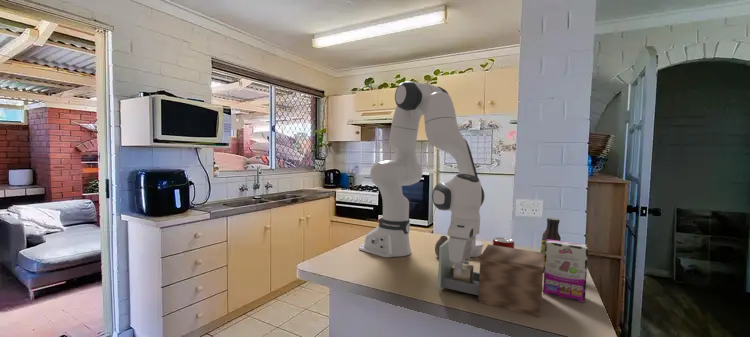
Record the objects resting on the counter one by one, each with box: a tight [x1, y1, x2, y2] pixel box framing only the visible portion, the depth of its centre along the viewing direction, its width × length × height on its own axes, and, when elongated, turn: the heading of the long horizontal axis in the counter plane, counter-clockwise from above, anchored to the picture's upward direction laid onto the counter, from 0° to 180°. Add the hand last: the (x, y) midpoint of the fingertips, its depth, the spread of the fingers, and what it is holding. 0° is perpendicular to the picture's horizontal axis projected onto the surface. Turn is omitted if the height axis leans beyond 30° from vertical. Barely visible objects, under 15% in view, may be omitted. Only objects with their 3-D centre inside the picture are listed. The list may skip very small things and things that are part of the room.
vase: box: [434, 235, 449, 259], centre depth 131 cm, size 7×7×9 cm
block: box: [453, 264, 474, 283], centre depth 102 cm, size 5×5×5 cm
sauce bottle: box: [539, 217, 562, 272], centre depth 119 cm, size 6×6×20 cm
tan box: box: [477, 244, 544, 318], centre depth 95 cm, size 16×14×14 cm
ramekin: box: [470, 239, 484, 258], centre depth 137 cm, size 11×11×5 cm
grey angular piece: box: [437, 238, 480, 297], centre depth 101 cm, size 15×14×13 cm
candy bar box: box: [542, 239, 589, 303], centre depth 99 cm, size 11×5×16 cm, turn 58°
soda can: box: [492, 236, 515, 248], centre depth 117 cm, size 7×7×12 cm
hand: (462, 269), depth 102 cm, fingers open, 8 cm apart
